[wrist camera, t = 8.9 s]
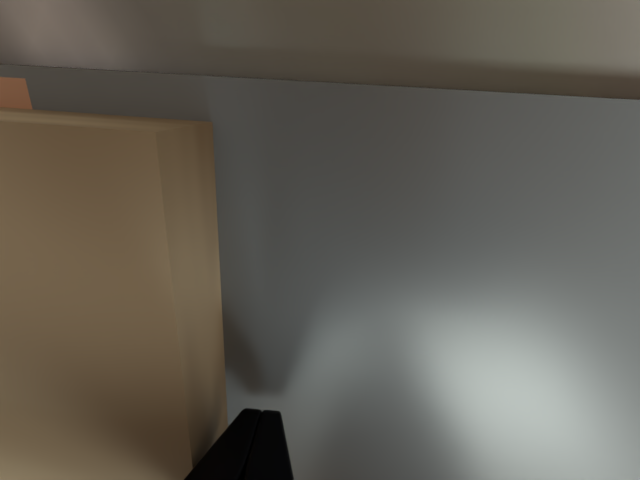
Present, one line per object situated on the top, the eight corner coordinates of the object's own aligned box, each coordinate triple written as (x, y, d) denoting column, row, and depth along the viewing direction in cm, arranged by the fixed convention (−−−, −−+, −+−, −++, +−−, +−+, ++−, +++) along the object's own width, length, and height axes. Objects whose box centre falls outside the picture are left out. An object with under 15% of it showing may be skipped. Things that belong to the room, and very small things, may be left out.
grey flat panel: (600, 584, 11) (609, 601, 11) (-284, 500, 12) (-304, 513, 12) (901, 115, 6) (940, 117, 5) (-728, 24, 7) (-791, 19, 6)
